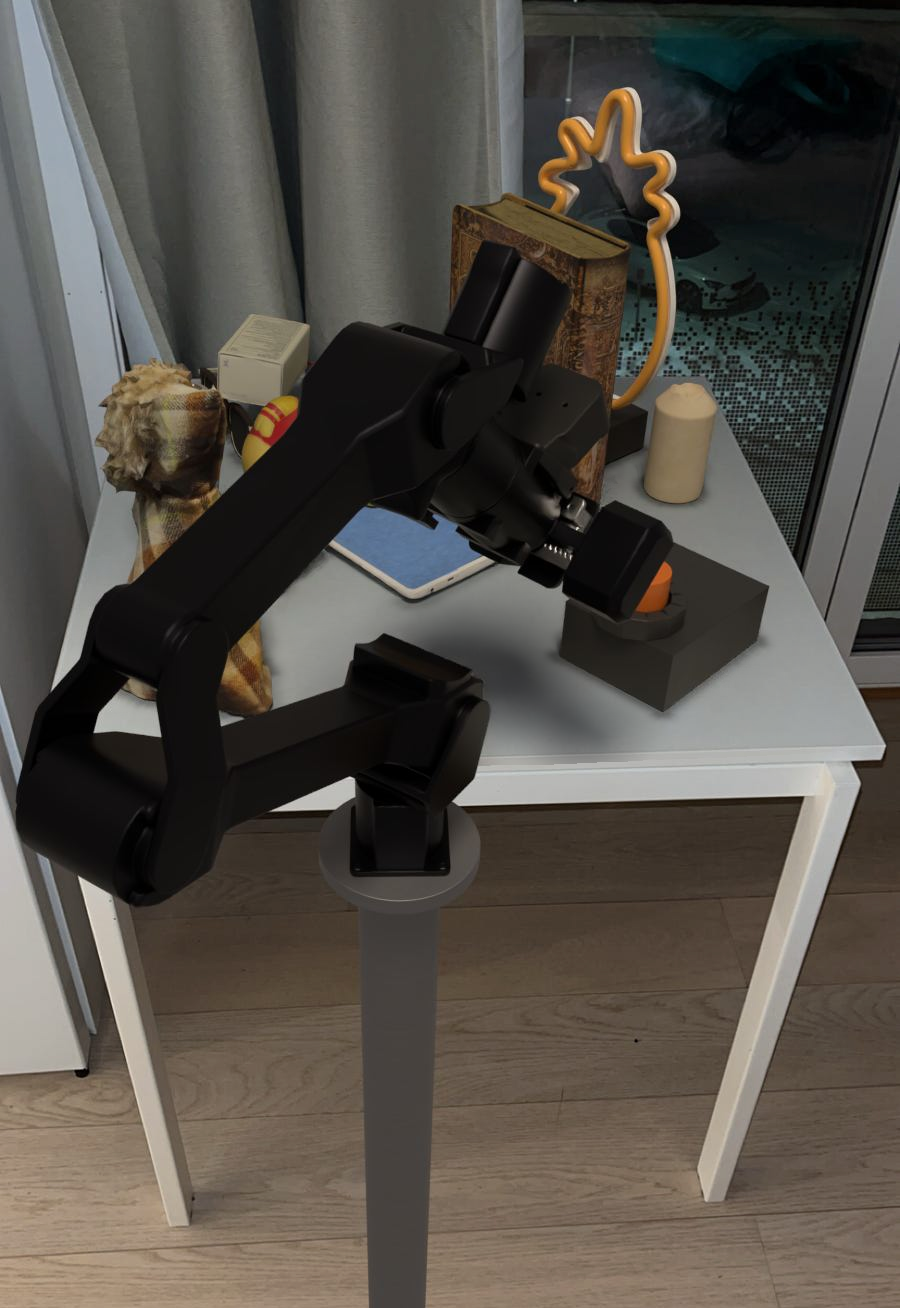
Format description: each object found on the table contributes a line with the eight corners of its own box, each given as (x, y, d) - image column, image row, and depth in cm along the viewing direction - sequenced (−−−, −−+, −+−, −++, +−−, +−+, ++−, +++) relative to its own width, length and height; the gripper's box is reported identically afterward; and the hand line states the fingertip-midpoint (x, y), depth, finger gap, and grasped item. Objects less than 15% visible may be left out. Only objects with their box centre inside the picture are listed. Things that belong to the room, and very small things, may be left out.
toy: (337, 443, 122) (405, 478, 116) (254, 513, 119) (320, 552, 113) (302, 362, 115) (373, 395, 109) (213, 434, 112) (281, 472, 106)
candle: (683, 510, 119) (700, 408, 112) (632, 491, 121) (646, 390, 114) (711, 487, 122) (730, 387, 115) (661, 469, 124) (677, 369, 118)
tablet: (518, 553, 112) (520, 540, 111) (411, 606, 105) (411, 592, 104) (374, 470, 122) (374, 457, 121) (268, 513, 116) (267, 500, 115)
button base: (655, 717, 96) (669, 641, 91) (551, 661, 101) (559, 585, 96) (757, 640, 104) (774, 566, 99) (656, 591, 108) (668, 518, 104)
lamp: (490, 426, 130) (509, 74, 108) (551, 401, 134) (582, 59, 113) (612, 490, 121) (660, 121, 99) (674, 462, 125) (732, 103, 104)
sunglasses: (199, 412, 130) (197, 363, 127) (344, 392, 136) (346, 346, 133) (250, 472, 121) (249, 422, 118) (402, 448, 128) (406, 400, 124)
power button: (646, 620, 94) (651, 590, 92) (602, 598, 96) (606, 569, 94) (677, 598, 96) (683, 569, 94) (634, 577, 98) (639, 548, 96)
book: (605, 535, 115) (642, 248, 98) (560, 554, 112) (589, 263, 95) (488, 462, 124) (503, 189, 107) (443, 479, 122) (451, 201, 105)
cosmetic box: (248, 355, 129) (214, 398, 120) (250, 310, 126) (215, 351, 117) (310, 366, 129) (280, 411, 119) (313, 322, 126) (283, 364, 117)
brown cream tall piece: (84, 738, 91) (112, 397, 76) (66, 633, 100) (88, 314, 86) (278, 738, 96) (339, 421, 81) (243, 640, 106) (292, 340, 91)
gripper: (680, 395, 67) (754, 508, 81) (421, 294, 76) (527, 411, 90) (572, 582, 68) (664, 662, 82) (329, 460, 77) (448, 551, 91)
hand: (573, 563), depth 86 cm, fingers closed
